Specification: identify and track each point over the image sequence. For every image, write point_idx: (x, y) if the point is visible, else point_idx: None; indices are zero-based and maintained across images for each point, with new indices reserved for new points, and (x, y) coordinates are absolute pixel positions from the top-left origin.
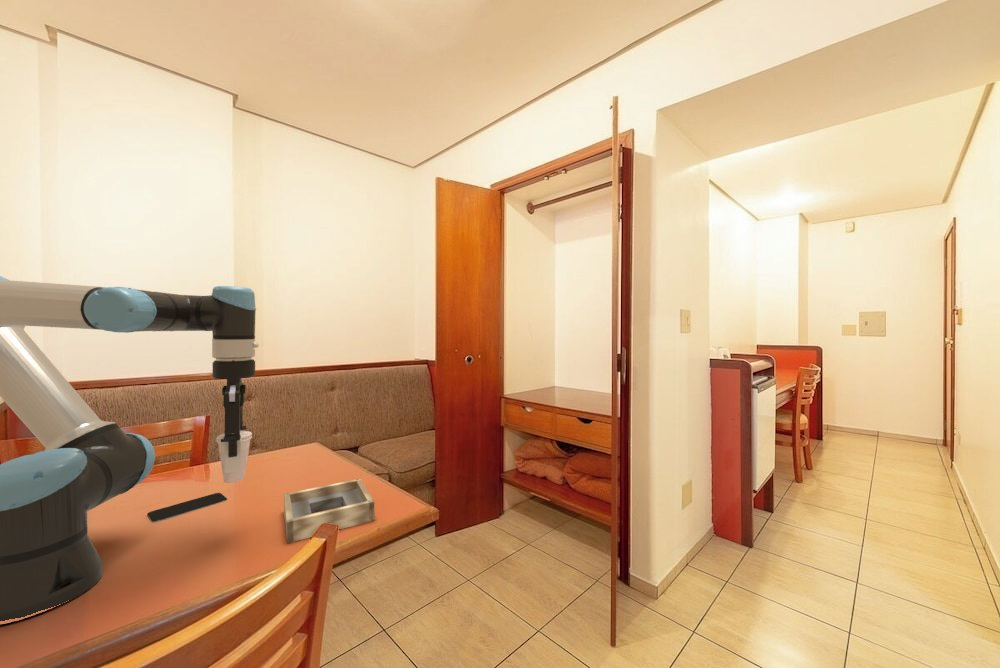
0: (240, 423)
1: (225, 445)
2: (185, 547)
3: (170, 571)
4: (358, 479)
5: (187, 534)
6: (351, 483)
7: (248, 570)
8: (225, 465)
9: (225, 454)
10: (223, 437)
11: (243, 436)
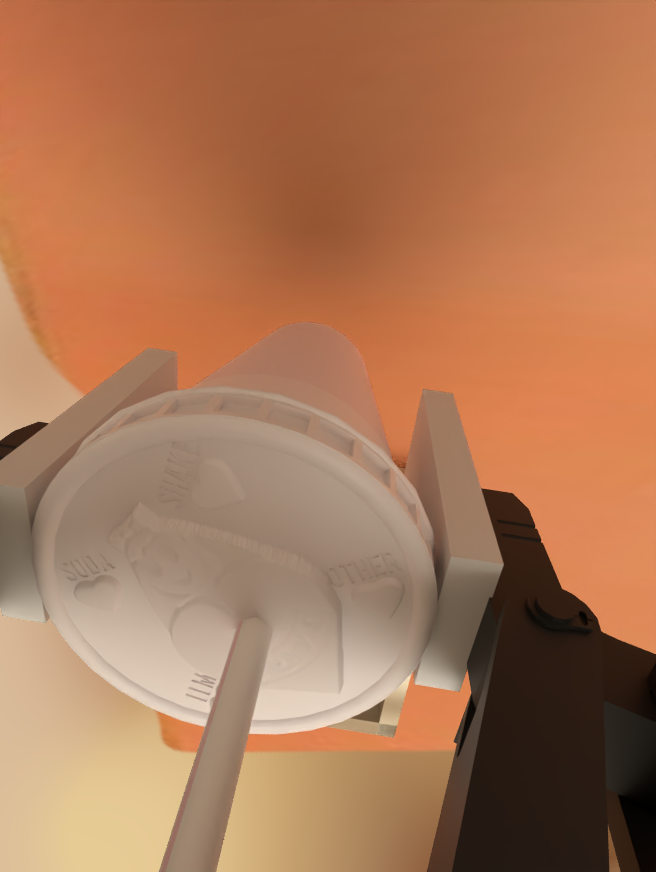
0: (448, 782)
1: (10, 459)
2: (393, 112)
3: (211, 62)
4: (388, 731)
5: (530, 116)
6: (382, 704)
7: (74, 312)
8: (123, 372)
9: (67, 412)
10: (177, 489)
11: (82, 657)
